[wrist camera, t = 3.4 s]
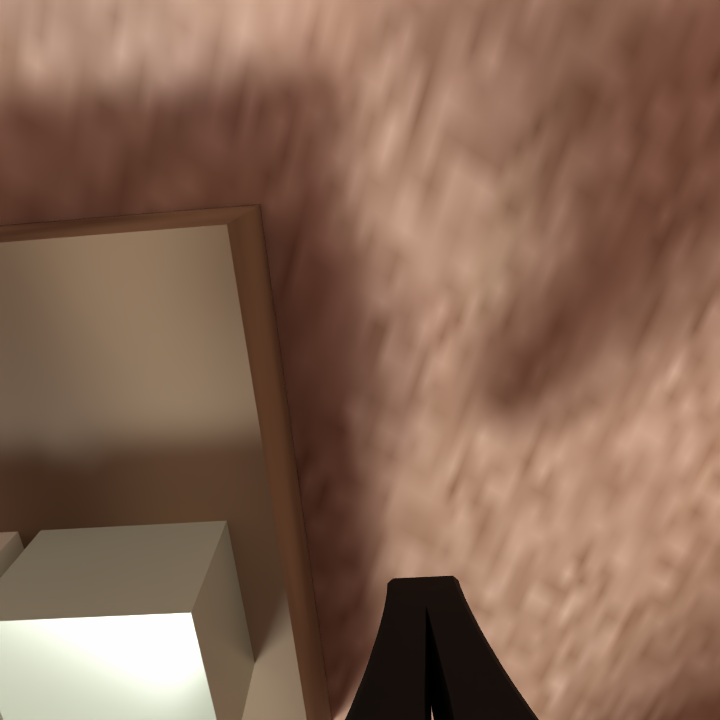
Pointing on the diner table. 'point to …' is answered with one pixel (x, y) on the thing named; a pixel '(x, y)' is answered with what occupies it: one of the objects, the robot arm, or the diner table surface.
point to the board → (161, 410)
